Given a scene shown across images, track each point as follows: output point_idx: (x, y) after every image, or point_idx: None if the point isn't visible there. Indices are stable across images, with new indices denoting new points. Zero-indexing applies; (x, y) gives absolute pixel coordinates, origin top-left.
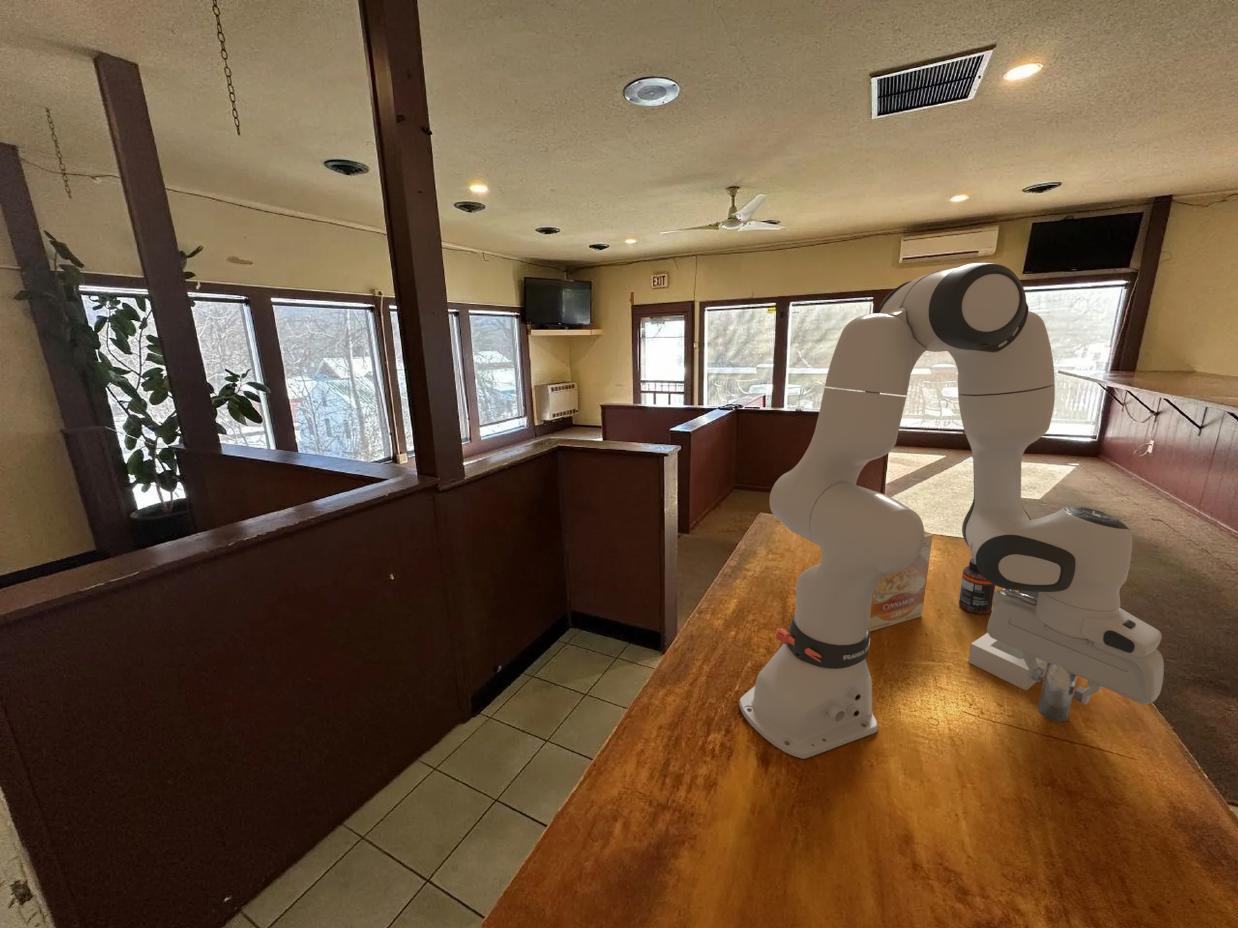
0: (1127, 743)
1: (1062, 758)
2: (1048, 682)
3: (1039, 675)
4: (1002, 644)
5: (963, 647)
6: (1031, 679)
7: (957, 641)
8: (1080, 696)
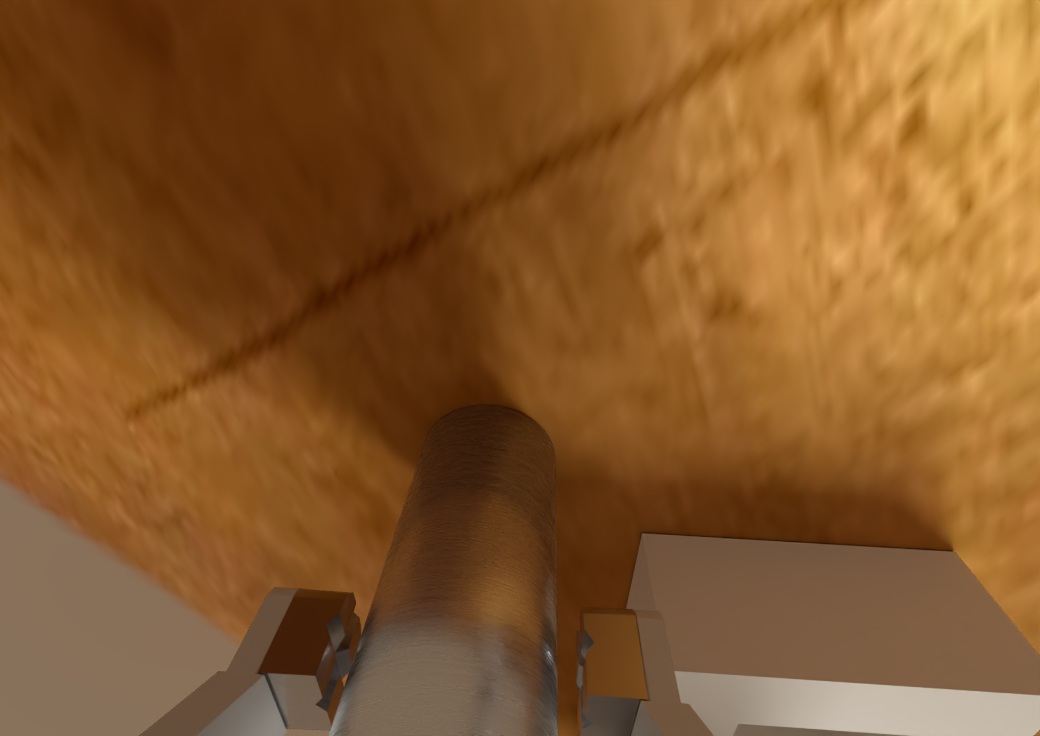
0: (211, 492)
1: (252, 71)
2: (500, 639)
3: (588, 672)
4: None
5: None
6: None
7: None
8: (285, 633)
